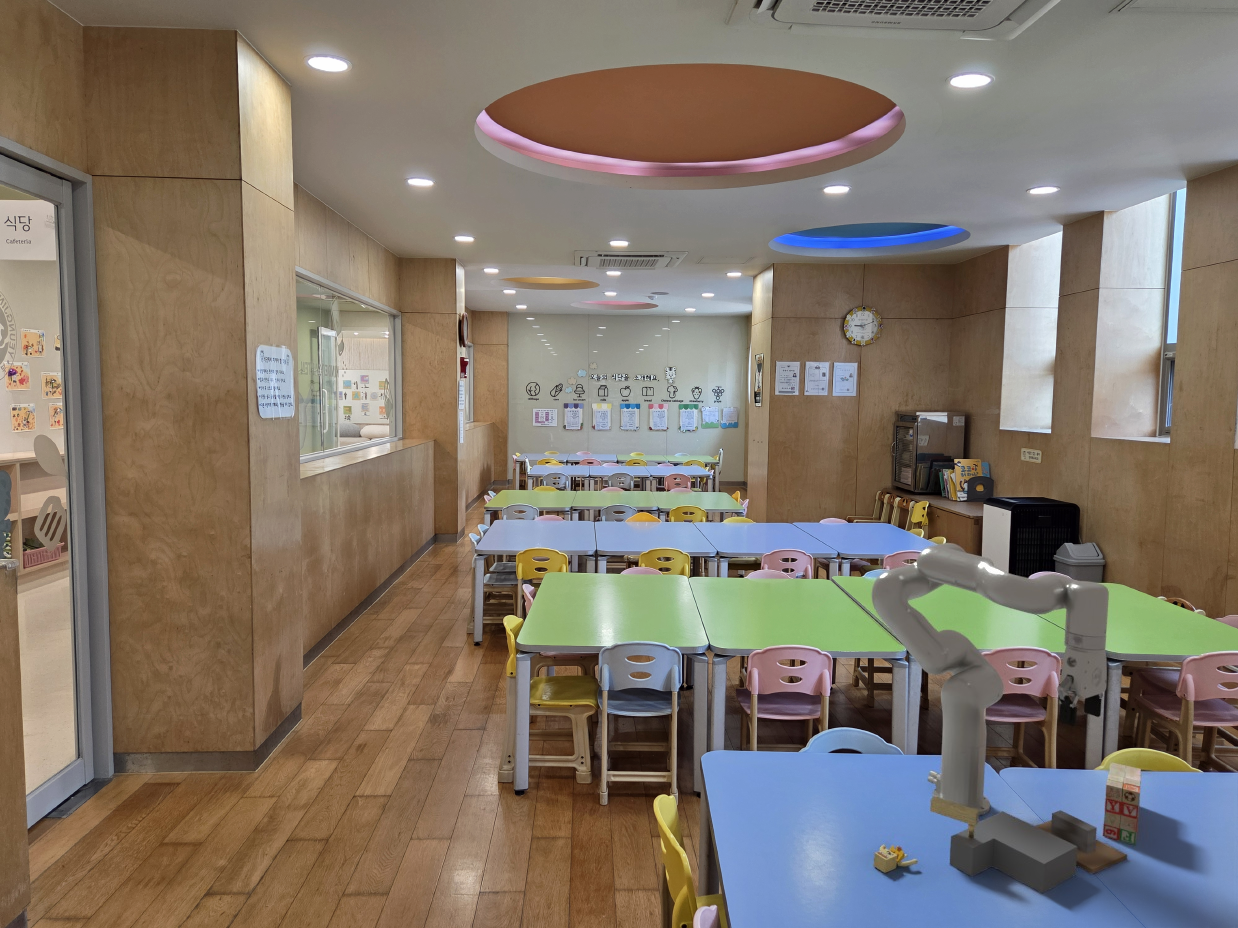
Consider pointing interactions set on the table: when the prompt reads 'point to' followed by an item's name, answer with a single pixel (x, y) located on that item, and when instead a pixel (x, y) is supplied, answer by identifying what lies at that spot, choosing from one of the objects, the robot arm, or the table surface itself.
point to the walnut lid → (1083, 842)
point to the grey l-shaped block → (1014, 852)
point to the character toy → (891, 858)
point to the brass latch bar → (956, 813)
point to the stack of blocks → (1122, 803)
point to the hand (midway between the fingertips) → (1080, 718)
